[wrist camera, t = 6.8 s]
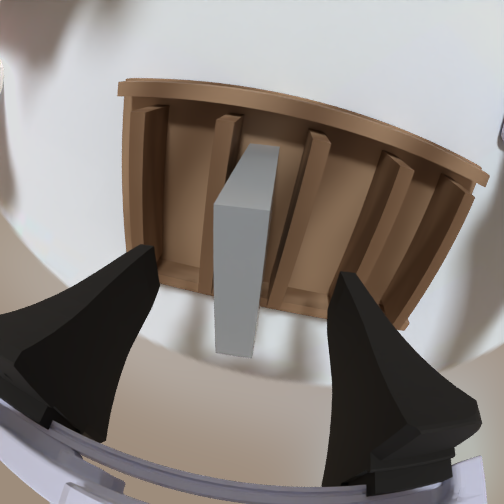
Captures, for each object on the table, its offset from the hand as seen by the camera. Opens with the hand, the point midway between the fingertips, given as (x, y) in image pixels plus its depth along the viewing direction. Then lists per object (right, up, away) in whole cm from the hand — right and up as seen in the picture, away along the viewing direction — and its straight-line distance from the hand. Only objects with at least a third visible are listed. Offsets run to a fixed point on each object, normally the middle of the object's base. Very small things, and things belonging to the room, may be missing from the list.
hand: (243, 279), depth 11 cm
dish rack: (+3, +4, +6) cm, 8 cm away
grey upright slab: (+1, +4, +6) cm, 7 cm away
